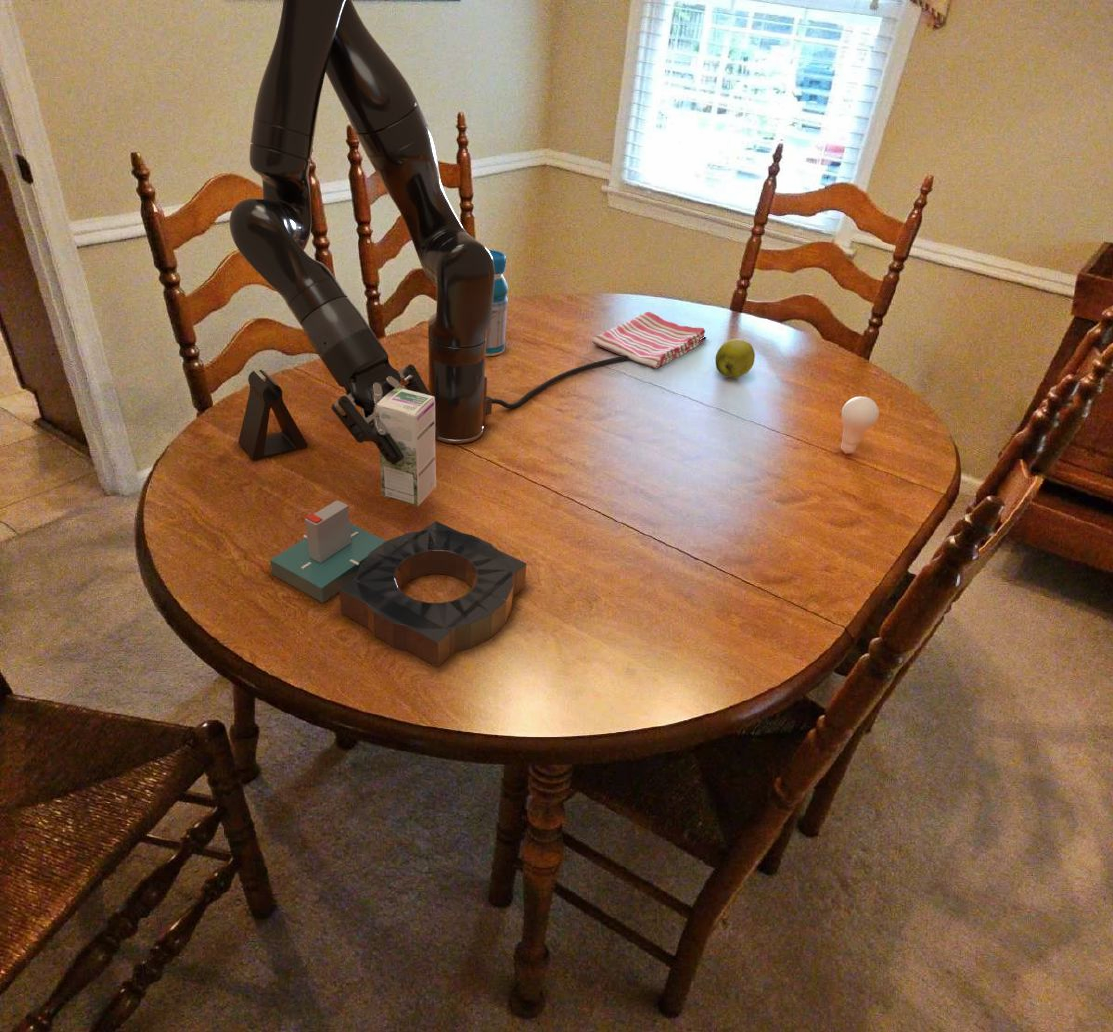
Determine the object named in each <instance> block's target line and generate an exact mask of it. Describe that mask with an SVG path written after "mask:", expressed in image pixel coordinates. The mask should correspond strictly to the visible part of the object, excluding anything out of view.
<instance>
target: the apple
mask: <svg viewBox="0 0 1113 1032" xmlns="http://www.w3.org/2000/svg"><path fill="white" fill-rule="evenodd" d="M755 354H756V353H755V349H754V347H753V345H752V344H751V343H750V342H749V341H747V340H745V339H742V338H732V339H728V340H726V341H725V342H723V344H722V345H720V347H719V349H717V352H716V355H715V366H716V370H717V371H718V372H719V374H720V375H722V376H723V377H726V378H732V379H734V378H739V377H742V376H744V375H746V374H748V372H750V371H751V369H752V368H753V366H754V364H755V357H756V355H755Z"/></svg>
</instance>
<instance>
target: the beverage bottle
mask: <svg viewBox="0 0 1113 1032" xmlns="http://www.w3.org/2000/svg"><path fill="white" fill-rule="evenodd" d="M488 251H489V252H490V254H491V256H492V258H493V262H494V269H495V283H494V296H493V307H492V317H491V321H490V324H489V326H488V328H487V331H486V351H485V357H495V356H498V355H500V354H502V353H503V352H505V349H506V330H507V329H506V327H507V310H508V306H509V300H508V299H509V298H508V296H507V294H508V292H509V286H508V283H507V280H506V278H505V276H504V275H503V274H505V272H506V268H507V257H506V256H507V255H506V254H505V253H503V252H501V251H499V250H495V249H494V250H493V249H488Z"/></svg>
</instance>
